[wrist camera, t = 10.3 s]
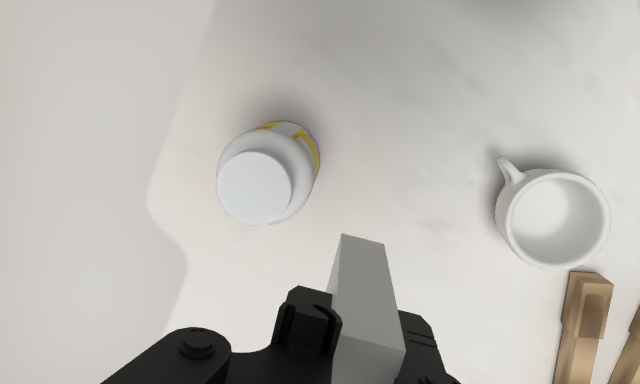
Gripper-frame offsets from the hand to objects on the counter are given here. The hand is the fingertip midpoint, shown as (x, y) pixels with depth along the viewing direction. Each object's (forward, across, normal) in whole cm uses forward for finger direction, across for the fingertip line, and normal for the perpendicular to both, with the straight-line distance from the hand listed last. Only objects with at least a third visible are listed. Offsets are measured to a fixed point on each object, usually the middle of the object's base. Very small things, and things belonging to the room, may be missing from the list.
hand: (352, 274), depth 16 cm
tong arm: (+24, +24, -14) cm, 37 cm away
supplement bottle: (+25, -6, -1) cm, 25 cm away
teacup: (+25, +15, +1) cm, 29 cm away
